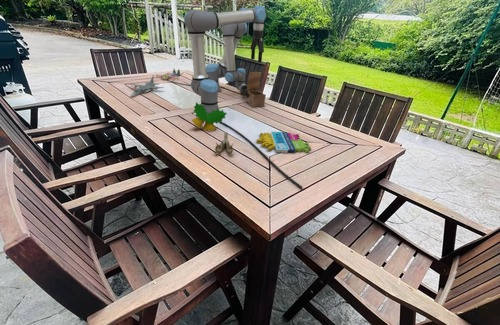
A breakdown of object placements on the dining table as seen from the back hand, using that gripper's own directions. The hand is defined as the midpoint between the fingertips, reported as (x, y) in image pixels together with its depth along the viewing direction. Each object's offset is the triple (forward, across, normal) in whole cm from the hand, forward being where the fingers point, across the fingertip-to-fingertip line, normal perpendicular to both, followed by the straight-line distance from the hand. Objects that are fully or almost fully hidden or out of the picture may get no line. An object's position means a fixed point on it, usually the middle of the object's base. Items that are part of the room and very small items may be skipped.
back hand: (254, 95), depth 215 cm
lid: (-2, 0, +11) cm, 11 cm away
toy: (-106, +53, -6) cm, 118 cm away
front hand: (-2, 0, +27) cm, 27 cm away
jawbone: (+78, +50, -6) cm, 93 cm away
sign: (+76, +15, -6) cm, 78 cm away
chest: (+3, 0, -6) cm, 7 cm away
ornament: (+45, +50, -6) cm, 68 cm away
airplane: (-51, +82, -6) cm, 97 cm away
